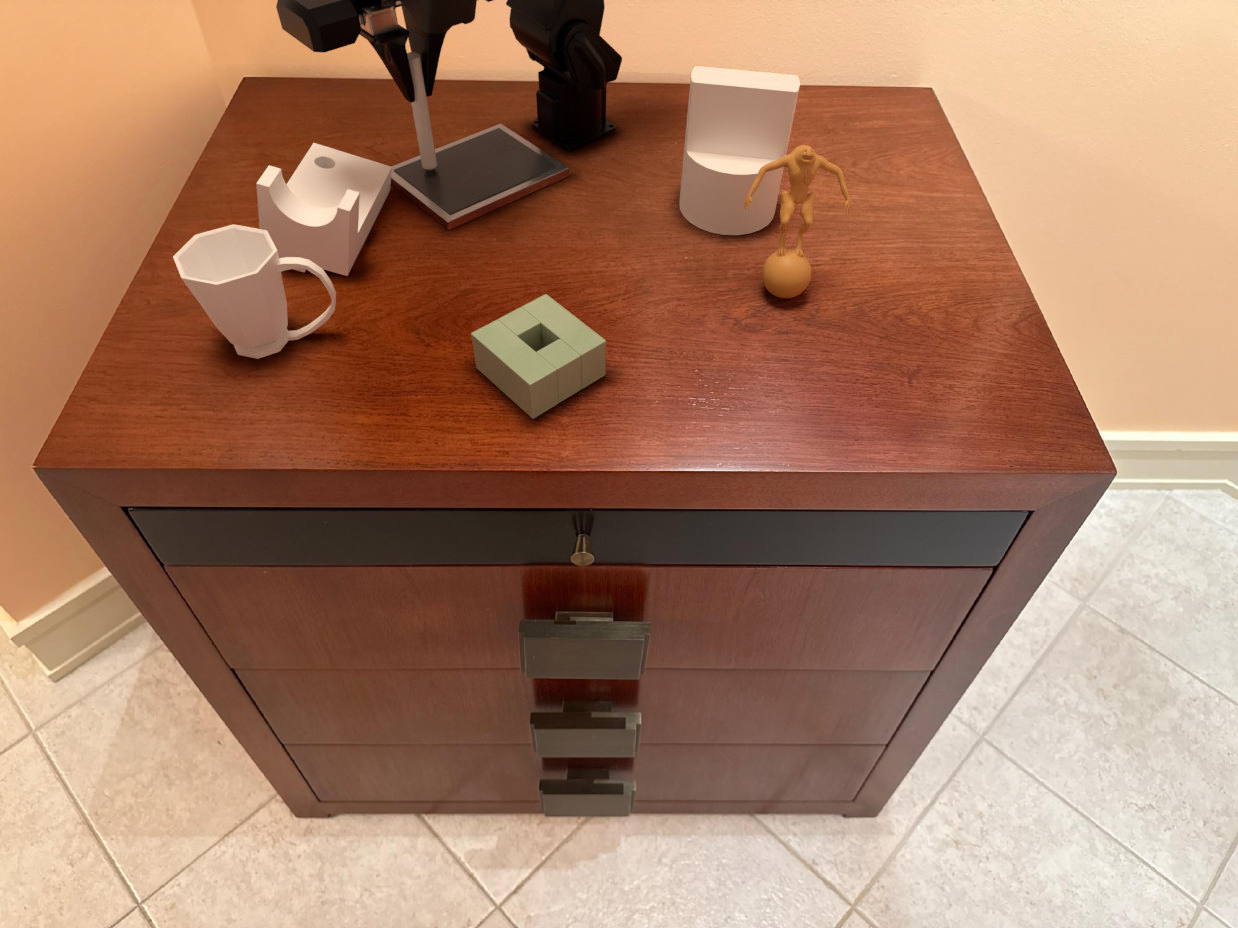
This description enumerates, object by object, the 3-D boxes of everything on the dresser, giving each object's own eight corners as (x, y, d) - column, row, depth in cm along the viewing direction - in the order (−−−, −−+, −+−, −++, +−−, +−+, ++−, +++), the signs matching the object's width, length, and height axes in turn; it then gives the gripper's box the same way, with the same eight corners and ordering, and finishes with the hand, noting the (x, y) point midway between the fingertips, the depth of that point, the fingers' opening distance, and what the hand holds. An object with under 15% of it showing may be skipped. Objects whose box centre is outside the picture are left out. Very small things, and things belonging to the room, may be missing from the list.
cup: (222, 313, 64) (182, 226, 58) (350, 304, 66) (324, 218, 59) (206, 374, 60) (161, 287, 54) (344, 363, 61) (315, 277, 55)
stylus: (432, 163, 77) (414, 50, 69) (440, 170, 77) (423, 56, 69) (419, 168, 77) (400, 55, 69) (428, 175, 76) (409, 61, 68)
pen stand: (547, 328, 64) (545, 293, 62) (605, 375, 61) (606, 340, 58) (475, 368, 61) (470, 333, 59) (532, 419, 58) (529, 385, 55)
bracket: (347, 284, 69) (349, 211, 63) (261, 260, 67) (256, 183, 62) (389, 199, 77) (395, 127, 71) (313, 176, 76) (313, 101, 70)
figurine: (734, 306, 67) (757, 173, 57) (730, 261, 70) (750, 130, 61) (834, 310, 67) (873, 178, 57) (825, 265, 70) (860, 135, 61)
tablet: (501, 131, 84) (500, 122, 83) (569, 176, 78) (569, 166, 78) (383, 178, 77) (381, 169, 77) (449, 230, 72) (447, 220, 72)
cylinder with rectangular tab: (776, 186, 78) (800, 59, 69) (773, 240, 73) (799, 110, 63) (684, 176, 79) (696, 50, 70) (674, 229, 73) (685, 99, 64)
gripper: (321, -50, 52) (373, 173, 64) (551, -107, 60) (558, 100, 72) (243, -97, 57) (304, 117, 69) (464, -144, 65) (484, 56, 77)
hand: (418, 98), depth 71 cm, fingers closed on stylus, 1 cm apart
